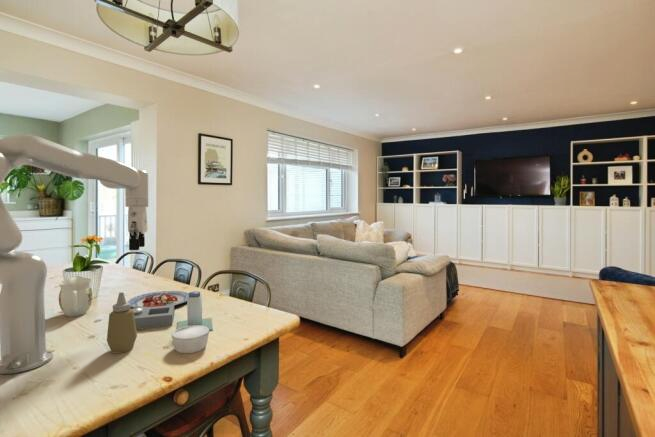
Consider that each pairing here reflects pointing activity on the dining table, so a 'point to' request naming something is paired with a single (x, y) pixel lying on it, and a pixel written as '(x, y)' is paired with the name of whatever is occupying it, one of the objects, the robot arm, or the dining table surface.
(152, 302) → the ceramic plate
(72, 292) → the pitcher
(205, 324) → the mat
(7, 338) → the robot arm
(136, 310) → the plunger
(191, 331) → the ramekin
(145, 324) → the housing
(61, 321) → the dining table surface
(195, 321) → the cylinder
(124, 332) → the squeeze bottle
